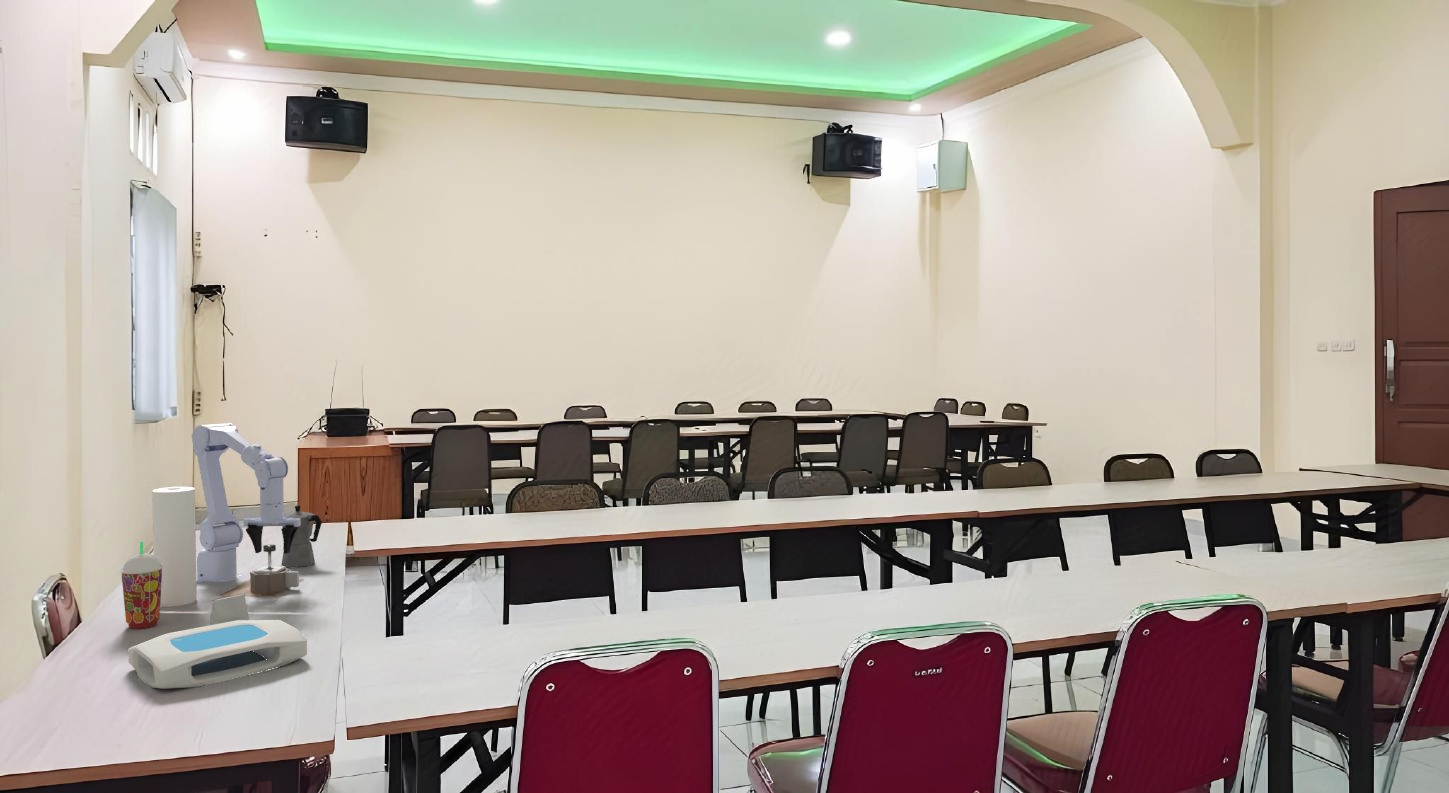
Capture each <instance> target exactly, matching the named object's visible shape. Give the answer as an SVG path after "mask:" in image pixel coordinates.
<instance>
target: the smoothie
mask: <svg viewBox="0 0 1449 793" xmlns="http://www.w3.org/2000/svg"><path fill="white" fill-rule="evenodd" d="M162 568H163V566H162V565H161V564H160V562H159V560H158V559H157V558H156V557H155V556H154V554H151V553H148V552H144V542H143V541H139V553H136V554H134V555H132V556H130V557H129V558H128V559H127V560H126V561H125V563H124V564H123V568H121V569H120V572H121V582H122V593H123V604H124V612H125V613H124V614H125V615H124V616H125V623H126V624H127V625H128V627H129V628H130V629H134V630H135V629H136V630H140V629H147V628H148V627H149V628H153V627H155V626H156V625H157V624H158V620H160V619H161V618H160V617H161V606H160V601H161V582H162Z"/></svg>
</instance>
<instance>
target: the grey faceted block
mask: <svg viewBox="0 0 1449 793" xmlns="http://www.w3.org/2000/svg"><path fill="white" fill-rule="evenodd" d="M282 570H283V572H281V573H278V572H280V571H282ZM256 573H267V574H256ZM249 574H250V575H249V576H250V578H249V580H250V589H251V591H252V592H254V593H268V594H269V593H275V592H281V591H283V592H285V591H287V590H288V588H289V587H290V588H299V586H300V582H299V579H300V578H299V576H300V574H299V571H296V570H295V571H290V569H289V568H288V567H285V566H282V565H281V566H279V565H278V566H277V565H276V566H275V565H273V566H272V565H271V570H268V565H263V566H261V567H259V568H257V569H255V570H252V571H250V572H249ZM290 588H289V589H290ZM286 589H287V590H286ZM284 590H285V591H284Z"/></svg>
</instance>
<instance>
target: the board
mask: <svg viewBox="0 0 1449 793" xmlns="http://www.w3.org/2000/svg"><path fill="white" fill-rule="evenodd" d="M304 580H305V579H304V578H301V579H300V578H299V583H301V582H303V581H304ZM290 588H291V587H289V588H288V589H290ZM288 589H286V590H284V591H281V592H275V593H269V594H268V593H254V592H252V591H251V589H250V579H248V580H246V581H244V582H242V583H240V584H238V585H236V586H234V587H232V588H230V589H228V590H226V591H224V592H222V593H220V594H218V595H217V597H233V596H238V595H243V594H244V595H245V597H276V596H278V595H279V594H282V593H284V592H285V591H287V590H288Z"/></svg>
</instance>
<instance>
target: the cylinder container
mask: <svg viewBox="0 0 1449 793" xmlns="http://www.w3.org/2000/svg"><path fill="white" fill-rule="evenodd" d="M151 494H152V496H151V497H152V498H151V499H152V544H153V548H152V549H153V553H152V555H153V556H155V557H156V558H157V559H158V560H159V562H160V564H161V565H162V566H163V568H162V582H161V601H160V607H161V608H162V607H163V608H165V607H169V608H170V607H178V606H185V605H189V604H192V603H194V602H196V601H197V598H198V593H197V591H198V590H197V587H198V586H197V583H198V582H196V580H197V542H196V541H197V539H196V538H197V535H196V534H197V533H196V530H197V529H196V528H197V527H196V525H197V524H196V523H197V522H196V487H192V486H170V487H169V486H168V487H160V488H155V489H153V490H152V491H151Z"/></svg>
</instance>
